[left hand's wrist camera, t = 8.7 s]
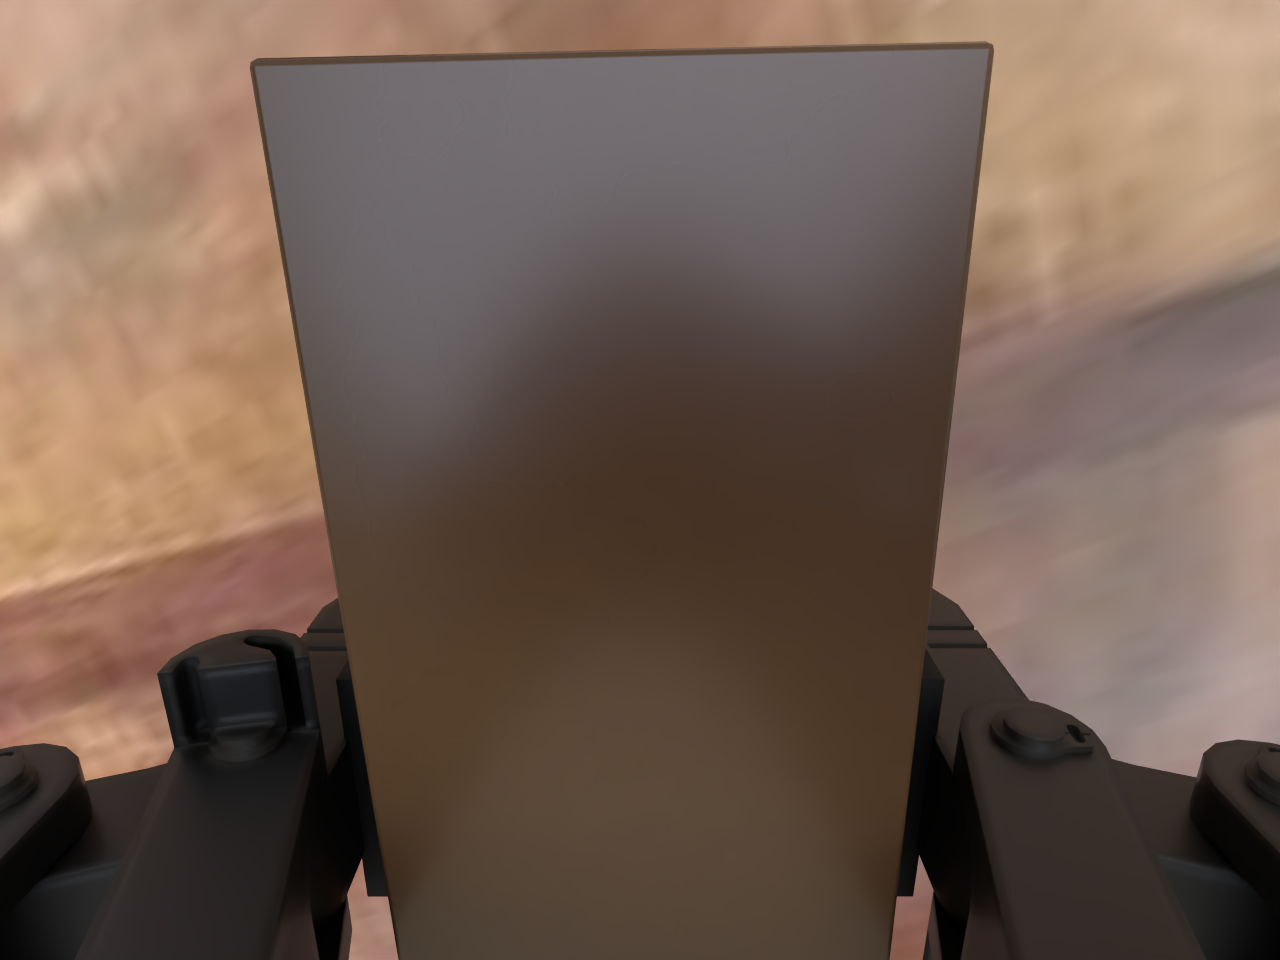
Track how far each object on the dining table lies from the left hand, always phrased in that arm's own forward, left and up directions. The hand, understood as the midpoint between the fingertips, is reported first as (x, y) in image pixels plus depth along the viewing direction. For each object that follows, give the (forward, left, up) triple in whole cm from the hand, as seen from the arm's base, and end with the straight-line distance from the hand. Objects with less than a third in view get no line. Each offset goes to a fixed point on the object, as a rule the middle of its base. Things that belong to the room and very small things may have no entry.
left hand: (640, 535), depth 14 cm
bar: (-25, +11, -1) cm, 28 cm away
